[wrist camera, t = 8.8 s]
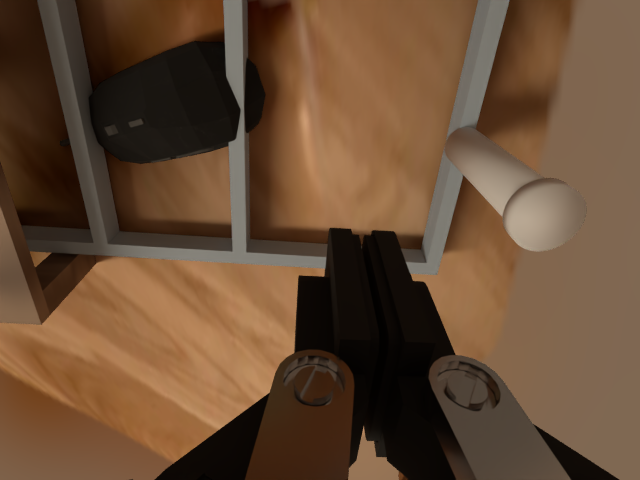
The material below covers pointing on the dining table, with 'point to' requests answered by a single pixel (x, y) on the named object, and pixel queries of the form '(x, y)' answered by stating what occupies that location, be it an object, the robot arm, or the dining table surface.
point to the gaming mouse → (173, 105)
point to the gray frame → (105, 238)
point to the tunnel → (32, 271)
